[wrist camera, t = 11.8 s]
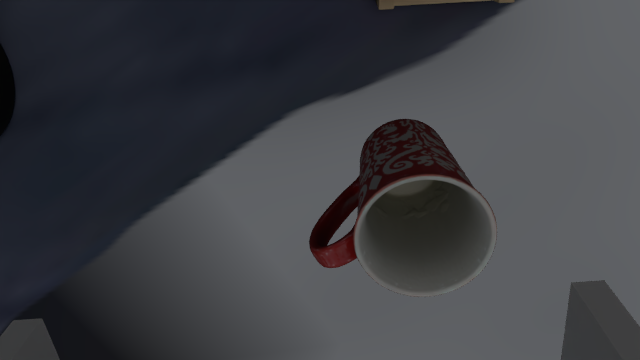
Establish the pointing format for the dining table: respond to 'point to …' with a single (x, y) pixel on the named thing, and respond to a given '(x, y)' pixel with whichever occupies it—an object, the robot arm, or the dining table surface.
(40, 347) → the robot arm
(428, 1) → the rack
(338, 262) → the mug
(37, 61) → the dining table surface
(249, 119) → the dining table surface
